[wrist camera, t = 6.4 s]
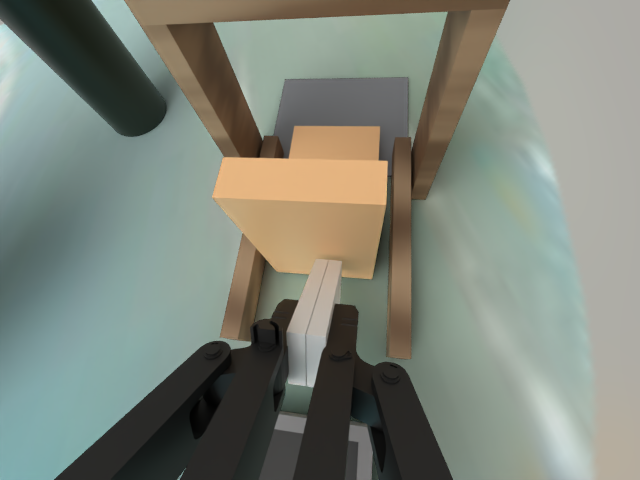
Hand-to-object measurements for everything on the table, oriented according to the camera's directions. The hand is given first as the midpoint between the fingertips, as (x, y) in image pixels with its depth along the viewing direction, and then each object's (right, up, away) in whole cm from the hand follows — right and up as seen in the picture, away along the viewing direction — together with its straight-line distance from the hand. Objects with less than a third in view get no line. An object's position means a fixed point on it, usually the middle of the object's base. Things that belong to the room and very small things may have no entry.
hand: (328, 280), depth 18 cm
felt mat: (+1, +13, +10) cm, 16 cm away
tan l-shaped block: (0, +5, +7) cm, 8 cm away
